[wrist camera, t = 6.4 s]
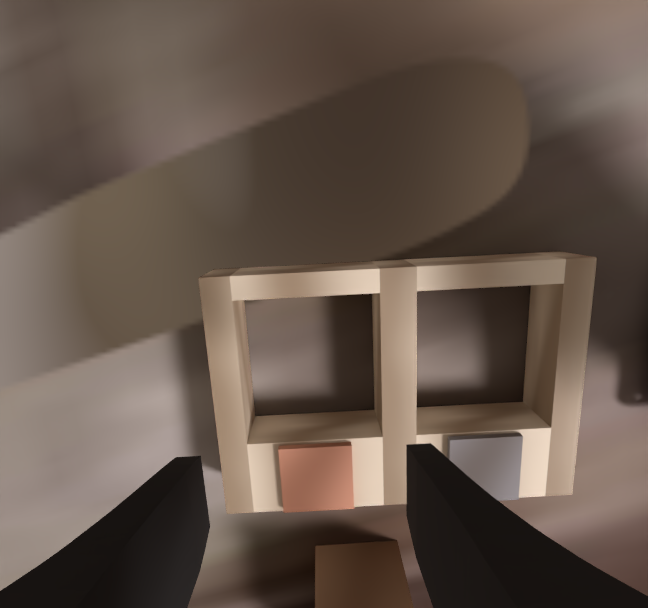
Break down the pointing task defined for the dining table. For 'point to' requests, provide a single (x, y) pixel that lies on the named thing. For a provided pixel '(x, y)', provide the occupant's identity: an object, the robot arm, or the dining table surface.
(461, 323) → the dining table surface
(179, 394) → the dining table surface
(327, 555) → the brown rectangular block
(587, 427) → the dining table surface
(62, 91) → the dining table surface
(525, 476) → the slot rack
